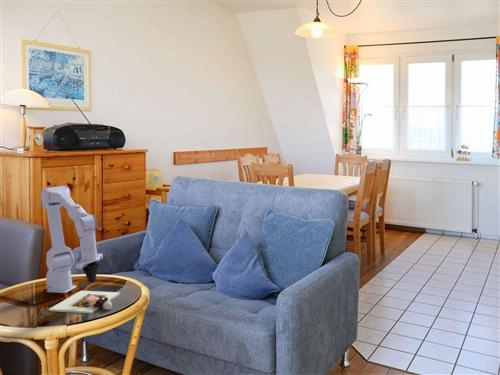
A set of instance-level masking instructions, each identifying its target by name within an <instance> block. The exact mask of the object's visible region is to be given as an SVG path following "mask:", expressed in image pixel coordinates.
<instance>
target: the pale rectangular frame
mask: <svg viewBox="0 0 500 375" xmlns="http://www.w3.org/2000/svg"><path fill="white" fill-rule="evenodd" d="M89 293H91V295H93V296H95V297H98V298H101V299H104V296H106V297H107V298H108V300H109V301H110V302H111V301H112V300H113V299H115V298H117V297H118V296H121V295H120V293H121V292H115V291H98V290H79V291H78V292H76V293H74V294H73V295H71V296H69V297H67V298H65V299H63V301H61V302H59V303H57V304H54V305H53V306H52V307H50V308H48V312H58V313H59V312H60V313H72V314H73V313H74V314H89V315H91V314H93V313H95V312H96V311H98V310H99V309H100V308H101V307H92V306H87V307H86V306H85V307H84V306H74V305H76V304H77V303H79V302H80V301H81V302H82V300H83V297H84V296H86V297H88V294H89Z"/></svg>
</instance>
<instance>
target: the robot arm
mask: <svg viewBox="0 0 500 375" xmlns="http://www.w3.org/2000/svg"><path fill="white" fill-rule="evenodd" d="M40 199H41V204H42V208H43V209H46V215H47V220H48V221H47V222H48V227H49V235H50V240H51V241H50V242H51V248H50V249H49V250H48V251H47V252H46V255H45V256H46V261H45V262H46V263H45V264H46V267H47V269H48V271H47V272H46V278H45V279H46V286H47V290H46V293H55V294H56V293H57V294H58V293H59V294H66V293H68V292H70V291H72V290H74V289H75V288H77V285H73V280H72V273H71V272H72V271H71V269H72V268H73V266H74V263H75V256H74V254H73V250H72V248H70V247H68V246H66V242H65V237H64V231H63V224H62V223H63V222H62V218H61V217H62V216H61V212H60V211H61V210H60V208H61V207H63V208H65V209H66V210H67V215H68V217H69V218H70V219H71V220H72V222H74V226H75V229H76V231H77V232H76V233H77V236H78V238H79V245H80V246H79V248H80V254H81V257H80V258H81V259H80V260H79V261H78V262H77V263H75V266H76V267H75V268H76V270H82V271H83V272H84V274H85V276H86V278H87V281H88V283H95V282H96V278H97V272H98V269H99V266H100V262H99V261H100V260H102V259H103V258H104V256H103V253H98V250H97V241H96V229H98V220H97V218H96V216H95V215H94V214H90V213H88V212H87V211H86V210H85V209H84V208H83V207H82V206H81V205H80V204H77V203H75V201H74V200H73V198H72V197H71V191H70V188H69V187H68V186H67V185H65V184H64V185H62V186H61V185H60V186H53V187H44V188H42V190H41V192H40Z"/></svg>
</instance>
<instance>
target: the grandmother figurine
mask: <svg viewBox="0 0 500 375" xmlns="http://www.w3.org/2000/svg"><path fill="white" fill-rule="evenodd" d="M103 298H104V299H102V298H101V297H96V296H93V295H91V293H89V294H88V296H87V297H86V296H84V297H83V299H82V300H81V302H82V304H86V303H88V307H90V306H92V307H100V308H103V309H105V310H107V311H110V310H111V309H112V308H113V304H112V302H111V301H109V300H108V298H107V297H106V296H104V297H103Z"/></svg>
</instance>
